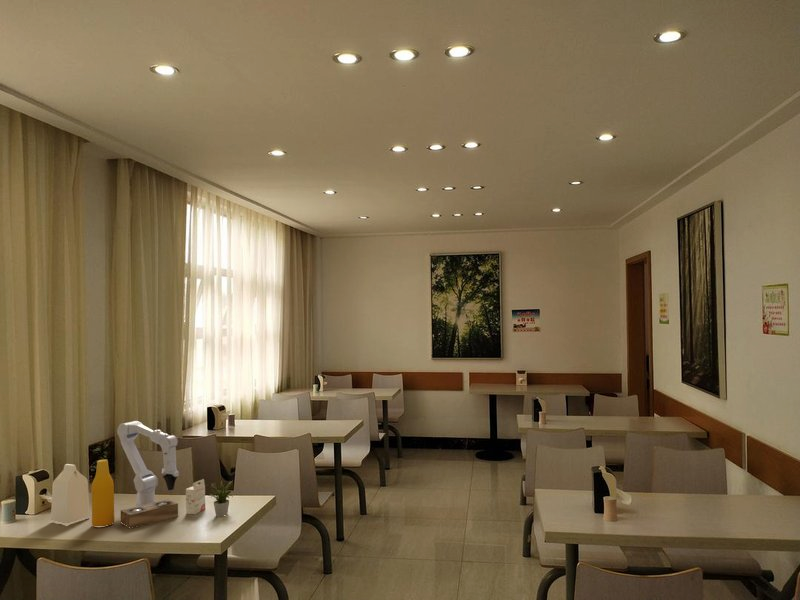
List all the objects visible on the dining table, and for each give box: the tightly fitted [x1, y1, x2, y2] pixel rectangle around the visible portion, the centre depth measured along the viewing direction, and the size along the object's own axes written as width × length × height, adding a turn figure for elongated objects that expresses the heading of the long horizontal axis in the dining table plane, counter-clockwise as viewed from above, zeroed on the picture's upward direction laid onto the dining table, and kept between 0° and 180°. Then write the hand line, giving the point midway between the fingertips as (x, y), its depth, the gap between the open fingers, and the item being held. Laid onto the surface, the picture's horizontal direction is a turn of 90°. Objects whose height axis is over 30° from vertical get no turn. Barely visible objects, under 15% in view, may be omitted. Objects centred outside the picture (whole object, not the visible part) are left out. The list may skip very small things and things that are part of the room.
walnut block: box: [120, 498, 179, 529], centre depth 278 cm, size 11×22×6 cm, turn 135°
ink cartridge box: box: [185, 478, 206, 515], centre depth 288 cm, size 9×5×15 cm, turn 161°
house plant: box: [207, 479, 233, 517], centre depth 281 cm, size 14×14×16 cm
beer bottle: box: [91, 459, 116, 527], centre depth 273 cm, size 9×9×29 cm
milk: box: [50, 463, 91, 523], centre depth 281 cm, size 12×12×26 cm
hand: (170, 489), depth 290 cm, fingers closed
